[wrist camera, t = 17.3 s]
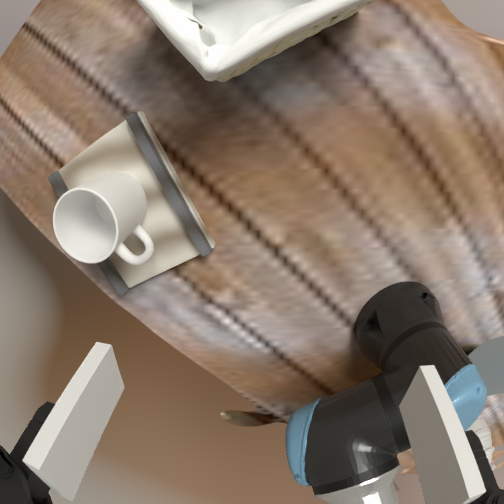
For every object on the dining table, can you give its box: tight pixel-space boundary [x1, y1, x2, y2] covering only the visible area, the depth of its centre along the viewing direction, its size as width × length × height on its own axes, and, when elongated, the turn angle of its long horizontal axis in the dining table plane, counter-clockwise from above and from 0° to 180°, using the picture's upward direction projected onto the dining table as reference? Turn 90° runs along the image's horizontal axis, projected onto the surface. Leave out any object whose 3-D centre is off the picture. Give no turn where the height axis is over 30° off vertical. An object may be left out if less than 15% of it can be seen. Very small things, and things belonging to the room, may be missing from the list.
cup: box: [53, 172, 154, 266], centre depth 34 cm, size 8×12×10 cm
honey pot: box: [466, 419, 496, 471], centre depth 59 cm, size 13×13×18 cm
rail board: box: [48, 111, 215, 296], centre depth 38 cm, size 20×16×3 cm
